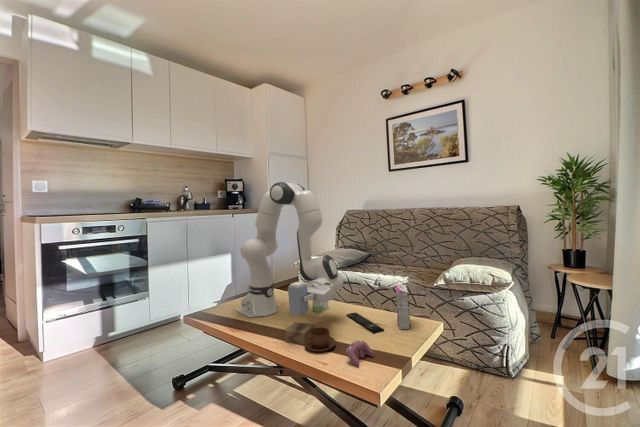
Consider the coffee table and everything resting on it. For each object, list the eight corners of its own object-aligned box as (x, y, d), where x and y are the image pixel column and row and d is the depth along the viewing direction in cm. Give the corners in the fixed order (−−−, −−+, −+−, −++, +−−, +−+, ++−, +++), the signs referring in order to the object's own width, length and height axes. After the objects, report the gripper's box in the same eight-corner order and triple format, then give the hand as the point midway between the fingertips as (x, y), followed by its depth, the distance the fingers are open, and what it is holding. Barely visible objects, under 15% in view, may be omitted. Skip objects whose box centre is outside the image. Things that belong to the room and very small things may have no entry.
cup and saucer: (322, 357, 110) (321, 340, 109) (298, 348, 117) (297, 333, 117) (342, 345, 119) (341, 329, 119) (318, 337, 126) (317, 322, 126)
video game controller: (367, 357, 111) (359, 338, 113) (376, 355, 108) (368, 335, 110) (349, 369, 104) (341, 347, 106) (358, 367, 101) (350, 345, 103)
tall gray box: (289, 313, 125) (288, 284, 124) (298, 309, 129) (297, 281, 129) (300, 315, 121) (298, 285, 121) (308, 311, 126) (307, 282, 126)
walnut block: (285, 342, 123) (284, 330, 123) (295, 333, 132) (294, 322, 131) (305, 345, 120) (304, 333, 120) (314, 336, 128) (314, 324, 128)
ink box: (320, 312, 155) (319, 283, 155) (312, 311, 158) (310, 282, 157) (329, 307, 163) (327, 279, 162) (320, 306, 165) (319, 278, 165)
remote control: (373, 335, 127) (373, 331, 127) (346, 316, 149) (345, 314, 149) (384, 332, 129) (384, 329, 129) (355, 314, 151) (355, 312, 151)
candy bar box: (396, 319, 141) (395, 284, 140) (408, 320, 140) (406, 284, 139) (398, 329, 130) (396, 291, 129) (410, 330, 129) (408, 291, 128)
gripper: (299, 280, 142) (278, 287, 131) (336, 284, 129) (316, 293, 118) (300, 293, 142) (279, 302, 131) (337, 299, 129) (317, 309, 118)
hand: (297, 298), depth 124 cm, fingers closed on tall gray box, 5 cm apart
